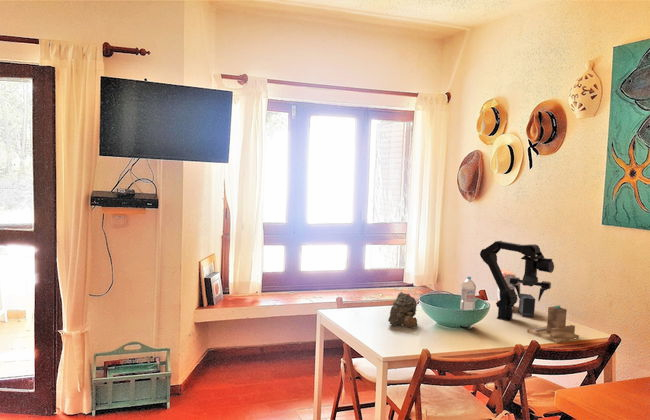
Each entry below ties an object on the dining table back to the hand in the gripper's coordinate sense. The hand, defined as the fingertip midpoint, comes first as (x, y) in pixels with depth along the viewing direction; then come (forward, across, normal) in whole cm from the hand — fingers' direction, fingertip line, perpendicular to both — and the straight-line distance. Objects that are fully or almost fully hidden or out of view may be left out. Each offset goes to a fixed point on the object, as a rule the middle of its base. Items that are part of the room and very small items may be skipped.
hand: (529, 299), depth 232 cm
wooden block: (+12, +14, -11) cm, 21 cm away
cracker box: (+13, -17, +28) cm, 35 cm away
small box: (+13, -4, +20) cm, 24 cm away
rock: (+13, -50, -42) cm, 66 cm away
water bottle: (+13, -24, -24) cm, 36 cm away
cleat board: (+13, +13, -10) cm, 21 cm away
